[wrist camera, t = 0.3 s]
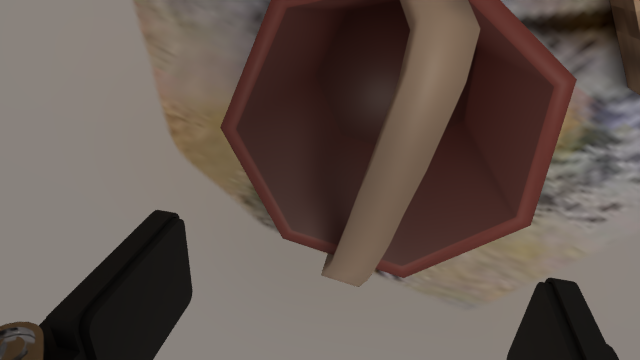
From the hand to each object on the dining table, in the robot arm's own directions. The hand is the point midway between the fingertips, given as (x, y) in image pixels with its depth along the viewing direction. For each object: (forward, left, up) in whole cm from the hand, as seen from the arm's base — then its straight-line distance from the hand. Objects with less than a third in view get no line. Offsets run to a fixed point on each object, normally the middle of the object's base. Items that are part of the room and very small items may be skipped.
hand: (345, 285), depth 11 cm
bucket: (+3, -1, -36) cm, 37 cm away
